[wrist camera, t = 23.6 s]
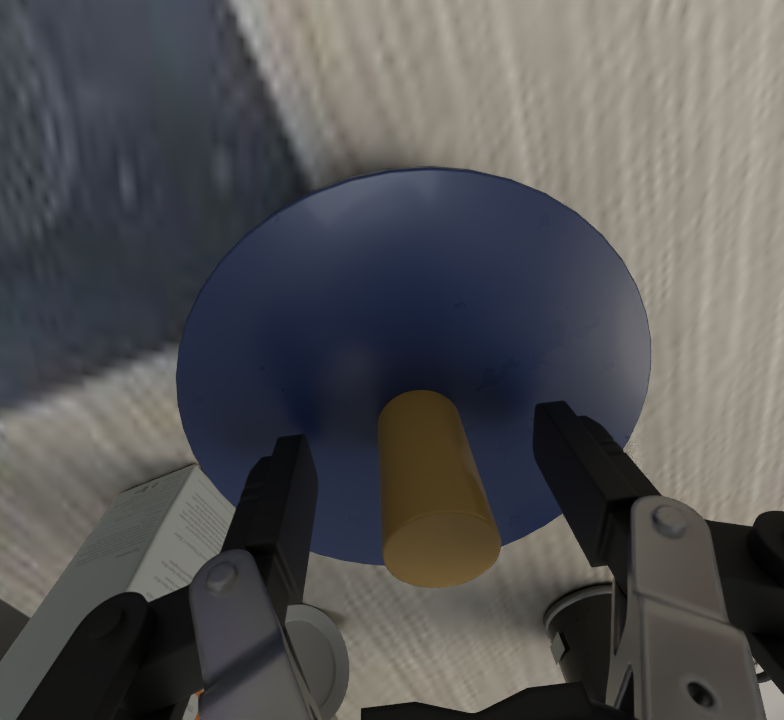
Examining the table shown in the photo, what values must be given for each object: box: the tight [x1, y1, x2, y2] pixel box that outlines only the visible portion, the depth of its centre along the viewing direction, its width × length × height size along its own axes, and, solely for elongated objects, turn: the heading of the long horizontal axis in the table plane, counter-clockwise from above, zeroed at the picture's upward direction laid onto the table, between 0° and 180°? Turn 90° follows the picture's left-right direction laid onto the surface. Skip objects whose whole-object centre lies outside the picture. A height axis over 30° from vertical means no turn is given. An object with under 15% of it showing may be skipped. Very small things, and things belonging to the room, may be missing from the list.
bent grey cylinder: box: [285, 604, 349, 720], centre depth 34 cm, size 18×11×20 cm
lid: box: [176, 166, 651, 588], centre depth 11 cm, size 15×15×6 cm
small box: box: [0, 464, 236, 720], centre depth 22 cm, size 8×6×13 cm
